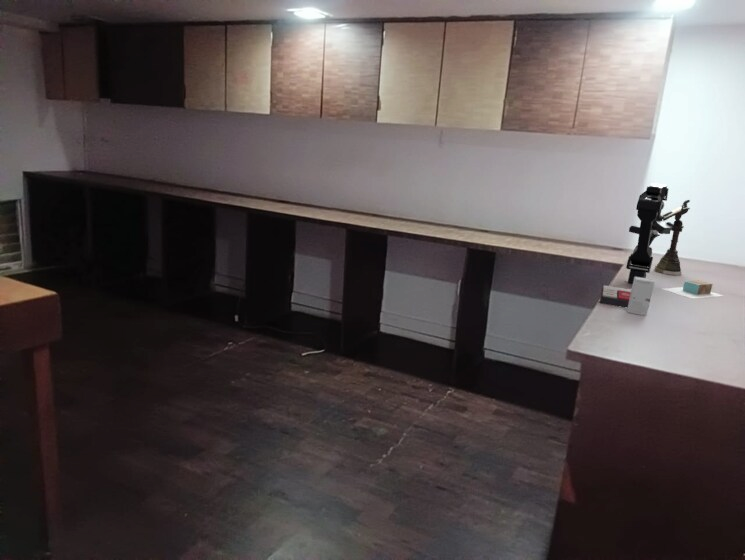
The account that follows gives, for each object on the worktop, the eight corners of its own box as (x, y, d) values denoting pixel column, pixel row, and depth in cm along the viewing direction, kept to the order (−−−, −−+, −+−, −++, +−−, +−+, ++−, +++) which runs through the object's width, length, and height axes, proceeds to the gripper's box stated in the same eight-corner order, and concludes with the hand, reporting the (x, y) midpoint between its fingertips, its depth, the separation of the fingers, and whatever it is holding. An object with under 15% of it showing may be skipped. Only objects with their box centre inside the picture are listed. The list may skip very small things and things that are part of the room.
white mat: (692, 299, 221) (692, 298, 221) (660, 289, 233) (661, 288, 233) (724, 296, 230) (724, 295, 230) (692, 287, 242) (692, 286, 242)
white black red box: (601, 294, 204) (602, 283, 217) (599, 305, 205) (600, 294, 219) (634, 300, 200) (633, 288, 214) (632, 311, 202) (631, 299, 215)
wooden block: (698, 285, 227) (712, 283, 231) (684, 281, 232) (698, 280, 236) (696, 294, 228) (710, 293, 232) (682, 290, 233) (696, 289, 237)
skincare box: (628, 313, 196) (635, 279, 193) (626, 309, 200) (633, 276, 197) (647, 316, 194) (654, 281, 191) (645, 312, 198) (652, 278, 195)
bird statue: (644, 271, 266) (659, 196, 257) (642, 266, 278) (656, 194, 269) (683, 277, 261) (700, 201, 252) (679, 271, 273) (696, 198, 264)
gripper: (653, 217, 232) (645, 254, 236) (684, 217, 240) (677, 253, 244) (631, 212, 242) (624, 248, 246) (662, 212, 249) (655, 247, 254)
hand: (645, 249), depth 247 cm, fingers closed
